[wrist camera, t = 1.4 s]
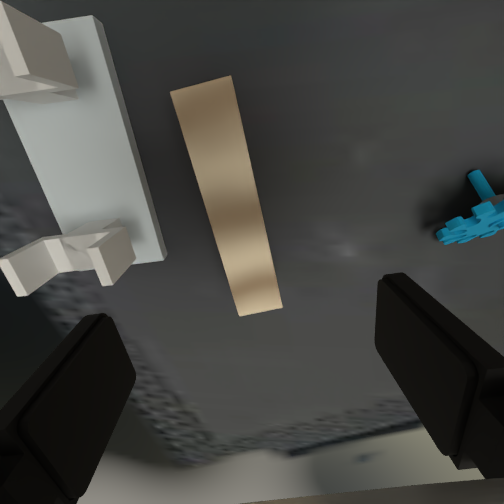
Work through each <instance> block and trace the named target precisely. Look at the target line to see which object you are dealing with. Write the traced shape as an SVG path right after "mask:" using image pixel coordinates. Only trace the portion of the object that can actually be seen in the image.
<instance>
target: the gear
mask: <svg viewBox="0 0 504 504" xmlns="http://www.w3.org/2000/svg"><path fill="white" fill-rule="evenodd" d="M467 177H468V178H469V180H470V181H471V183H472V185H473V186H474V188H475V190H476V191H477V193H478V195H479V196H480V198H481V200H482V202H481V203H480V205H477V206H475V207H473V208H471V211H472V212H473V214H474V216H472V217H470V218H468V219H463V218H462V217H456V218H454V219H452V220H450V221H448V222H447V223H445V224H446V226H447V228H443V229H441V230H439V231H438V232H437V233H436V236H437V238H438V240H439V241H443V243H444V244H445V245H446V244H450V243H452V242H455V241H457V243H464V242H467V241H469V240H471V239H473V238H475V237H477V236H479V237H480V238H483V237H488V236H491V235H493V234H495V233H496V232H497V231H498V230H500V229H504V194H501V195H495V193H494V192H493V190H492V189H491V187H490V185H489V184H488V182H487V181H486V179H485V177H484V176H483V174H482V173H481V171H480V170H475V171H473V172H471V173H470V174H468V175H467Z"/></svg>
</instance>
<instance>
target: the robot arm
mask: <svg viewBox="0 0 504 504" xmlns="http://www.w3.org/2000/svg"><path fill="white" fill-rule="evenodd" d="M375 346H376V349H377V351H378V353H379V355H380V356H381V358H382V360H383V361H384V363H385V364H386V366H387V368H388V369H389V371H390V372H391V374H392V376H393V377H394V379H395V380H396V382H397V384H398V385H399V387H400V388H401V390H402V392H403V393H404V395H405V396H406V398H407V400H408V401H409V403H410V404H411V406H412V408H413V409H414V411H415V412H416V414H417V416H418V417H419V419H420V420H421V422H422V424H423V425H424V427H425V428H426V430H427V431H428V433H429V435H430V436H431V438H432V440H433V441H434V443H435V444H436V446H437V448H438V449H439V450H440V452H441V453H442V454H443V455H445V456H449V457H450V458H451V460H452V461H453V463H454V464H455V466H456V468H457V469H458V470H461V469H470V468H478V469H479V471H480V472H481V474H482V475H483V476H484V478H485V479H482V480H470V481H459V482H447V483H434V484H423V485H411V486H402V487H393V488H383V489H373V490H365V491H354V492H345V493H335V494H325V495H316V496H306V497H297V498H287V499H278V500H269V501H260V502H251V503H242V504H504V357H503V356H502V355H501V354H500V353H499V352H497V351H496V350H495V349H494V348H493V347H491V346H490V345H489V344H488V343H487V342H486V341H484V340H483V339H482V338H481V337H480V336H478V335H477V334H476V333H475V332H474V331H472V330H471V329H470V328H469V327H468V326H467V325H465V324H464V323H463V322H462V321H461V320H459V319H458V318H457V317H456V316H455V315H453V314H452V313H451V312H450V311H449V310H447V309H446V308H445V307H444V306H443V305H442V304H440V303H439V302H438V301H437V300H436V299H434V298H433V297H432V296H431V295H430V294H428V293H427V292H426V291H425V290H424V289H423V288H421V287H420V286H419V285H418V284H417V283H415V282H414V281H413V280H412V279H411V278H409V277H408V276H407V275H406V274H405V273H394V274H386V275H384V276H383V278H382V279H381V280H379V281H378V288H377V306H376V323H375ZM135 380H136V372H135V369H134V367H133V365H132V363H131V360H130V358H129V356H128V353H127V351H126V349H125V346H124V344H123V342H122V340H121V337H120V335H119V333H118V330H117V328H116V326H115V323H114V321H113V319H112V318H111V317H108V316H107V315H106V314H104V313H100V314H93V315H87V316H85V317H84V318H83V319H82V320H81V321H80V322H79V323H78V324H77V325H76V326H75V328H74V329H73V330H72V331H71V332H70V333H69V334H68V335H67V336H66V338H65V339H64V340H63V341H62V342H61V343H60V344H59V346H57V348H56V349H55V350H54V351H53V352H52V353H51V354H50V355H49V356H48V358H47V359H46V360H45V361H44V362H43V363H42V364H41V365H40V367H39V368H38V369H37V370H36V371H35V372H34V373H33V375H31V377H30V378H29V379H28V380H27V381H26V382H25V383H24V384H23V385H22V387H21V388H20V389H19V390H18V391H17V392H16V393H15V395H13V397H12V398H11V399H10V400H9V401H8V402H7V403H6V404H5V405H4V407H3V408H2V409H1V410H0V504H76V503H77V501H78V499H79V497H81V496H83V495H84V493H85V492H86V490H87V488H88V486H89V484H90V482H91V479H92V477H93V475H94V473H95V470H96V468H97V466H98V464H99V461H100V459H101V457H102V454H103V453H104V450H105V448H106V446H107V444H108V441H109V439H110V437H111V435H112V433H113V430H114V428H115V426H116V424H117V421H118V419H119V417H120V415H121V412H122V410H123V408H124V406H125V404H126V401H127V399H128V397H129V395H130V392H131V390H132V388H133V386H134V383H135Z"/></svg>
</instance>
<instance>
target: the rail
mask: <svg viewBox="0 0 504 504" xmlns="http://www.w3.org/2000/svg"><path fill="white" fill-rule="evenodd" d="M170 94H171V97H172V100H173V104H174V107H175V110H176V113H177V116H178V120H179V123H180V126H181V129H182V133H183V136H184V139H185V142H186V146H187V149H188V152H189V155H190V159H191V162H192V165H193V168H194V171H195V175H196V178H197V181H198V184H199V188H200V191H201V194H202V197H203V201H204V204H205V207H206V210H207V214H208V217H209V220H210V223H211V226H212V230H213V233H214V236H215V239H216V243H217V246H218V249H219V252H220V256H221V259H222V262H223V265H224V269H225V272H226V275H227V278H228V281H229V285H230V288H231V291H232V294H233V298H234V301H235V304H236V307H237V311H238V314H239V316H244V315H249V314H253V313H258V312H263V311H268V310H273V309H278V308H283V307H282V302H281V298H280V293H279V288H278V284H277V279H276V274H275V270H274V265H273V261H272V256H271V252H270V247H269V243H268V238H267V234H266V229H265V225H264V220H263V216H262V211H261V207H260V202H259V198H258V193H257V189H256V184H255V180H254V175H253V171H252V166H251V162H250V157H249V153H248V148H247V144H246V139H245V135H244V130H243V126H242V121H241V117H240V112H239V108H238V103H237V99H236V94H235V90H234V86H233V82H232V78H231V75H230V76H227V77H223V78H219V79H216V80H212V81H208V82H204V83H201V84H197V85H193V86H190V87H186V88H182V89H179V90H175V91H171V92H170Z"/></svg>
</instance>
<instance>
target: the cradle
mask: <svg viewBox="0 0 504 504" xmlns="http://www.w3.org/2000/svg"><path fill="white" fill-rule="evenodd" d="M0 100H3V101H4V103H5V105H6V108H7V110H8V112H9V114H10V117H11V119H12V121H13V123H14V126H15V128H16V130H17V132H18V135H19V137H20V139H21V141H22V144H23V146H24V148H25V150H26V153H27V155H28V157H29V159H30V162H31V164H32V166H33V168H34V171H35V173H36V175H37V177H38V180H39V182H40V184H41V186H42V189H43V191H44V193H45V195H46V198H47V200H48V202H49V204H50V207H51V209H52V211H53V213H54V216H55V218H56V220H57V222H58V225H59V227H60V229H61V231H62V234H63V235H56V236H48V237H42V238H40V239H38V240H36V241H34V242H32V243H30V244H28V245H26V246H24V247H22V248H20V249H18V250H16V251H14V252H12V253H10V254H8V255H6V256H4V257H2V258H0V267H1V269H2V271H3V272H4V274H5V276H6V278H7V279H8V281H9V283H10V285H11V286H12V288H13V290H14V291H15V293H16V295H17V296H27V295H29V294H31V293H32V292H33V291H35V290H36V289H37V288H39V287H40V286H41V285H43V284H44V283H46V282H47V281H48V280H50V279H51V278H52V277H54V276H55V275H56V274H58V273H61V272H69V271H77V270H79V271H83V270H91V269H95V270H96V272H97V275H98V277H99V279H100V282H101V284H102V286H108V285H113V284H114V283H115V282H116V281H117V280H118V279H119V278H120V276H121V275H122V274H123V273H124V272H125V271H126V270H127V269H128V268H129V266H130V265H131V264H139V263H147V262H155V261H163V260H164V259H165V258H166V256H167V255H168V254H167V251H166V247H165V243H164V240H163V236H162V233H161V229H160V226H159V222H158V219H157V215H156V212H155V208H154V204H153V201H152V197H151V194H150V190H149V187H148V183H147V180H146V176H145V173H144V169H143V165H142V162H141V158H140V155H139V151H138V148H137V144H136V141H135V137H134V134H133V130H132V126H131V123H130V119H129V116H128V112H127V109H126V105H125V102H124V98H123V95H122V91H121V87H120V84H119V80H118V77H117V73H116V70H115V66H114V63H113V59H112V56H111V52H110V48H109V45H108V41H107V38H106V34H105V31H104V27H103V24H102V23H101V22H100V21H99V20H98V19H96V18H95V17H94V16H93V15H90V16H83V17H77V18H70V19H64V20H58V21H51V22H45V23H40V22H38V21H36V20H35V19H33V18H31V17H29V16H27V15H26V14H24V13H22V12H20V11H18V10H17V9H15V8H13V7H11V6H9V5H8V4H6V3H4V2H2V1H0Z"/></svg>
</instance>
